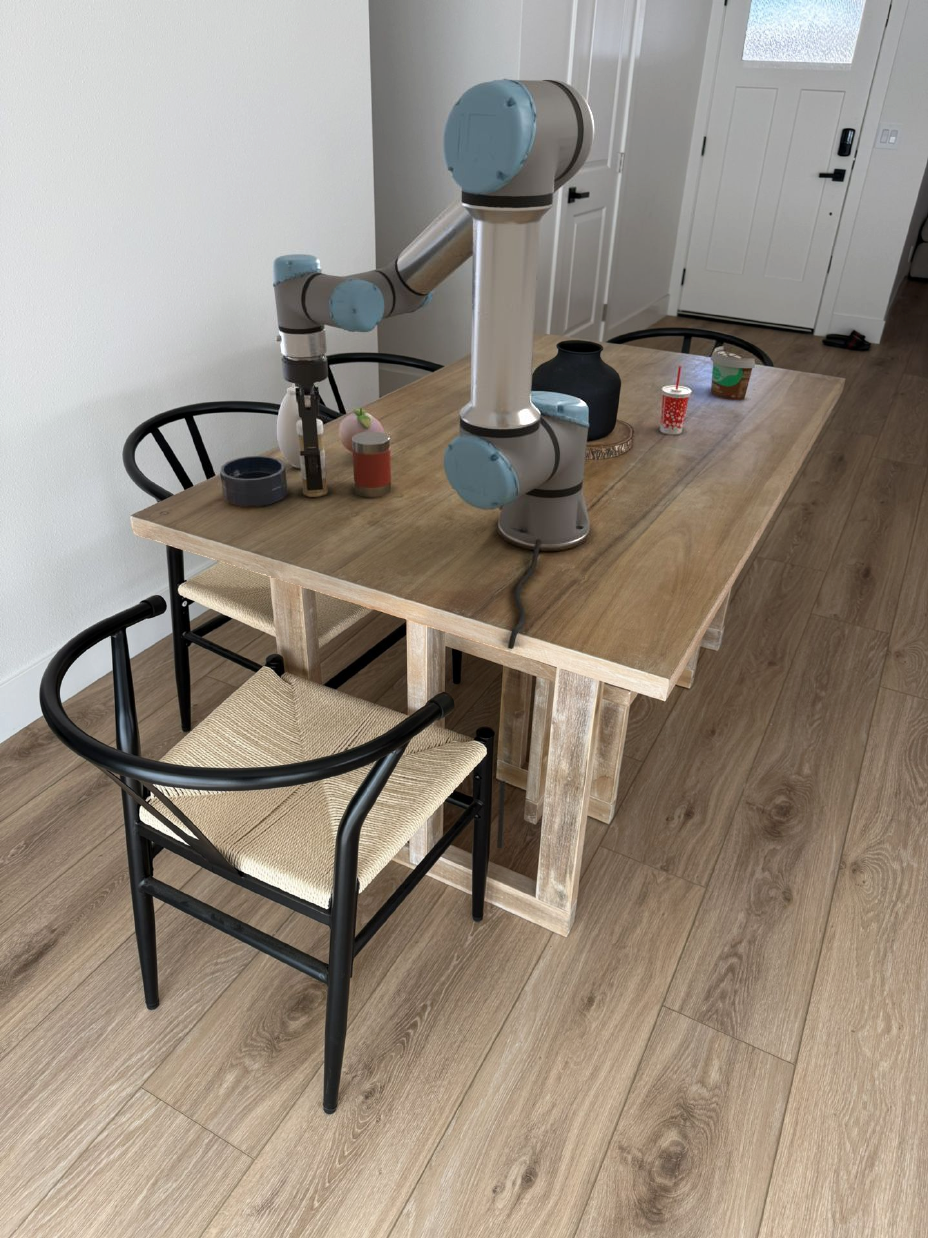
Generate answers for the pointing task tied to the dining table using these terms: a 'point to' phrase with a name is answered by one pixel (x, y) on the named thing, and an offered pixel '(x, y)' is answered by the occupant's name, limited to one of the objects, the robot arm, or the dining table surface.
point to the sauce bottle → (289, 428)
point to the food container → (730, 374)
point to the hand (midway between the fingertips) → (314, 474)
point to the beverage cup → (674, 407)
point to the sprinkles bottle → (322, 455)
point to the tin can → (371, 464)
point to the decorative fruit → (357, 426)
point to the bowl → (254, 481)
